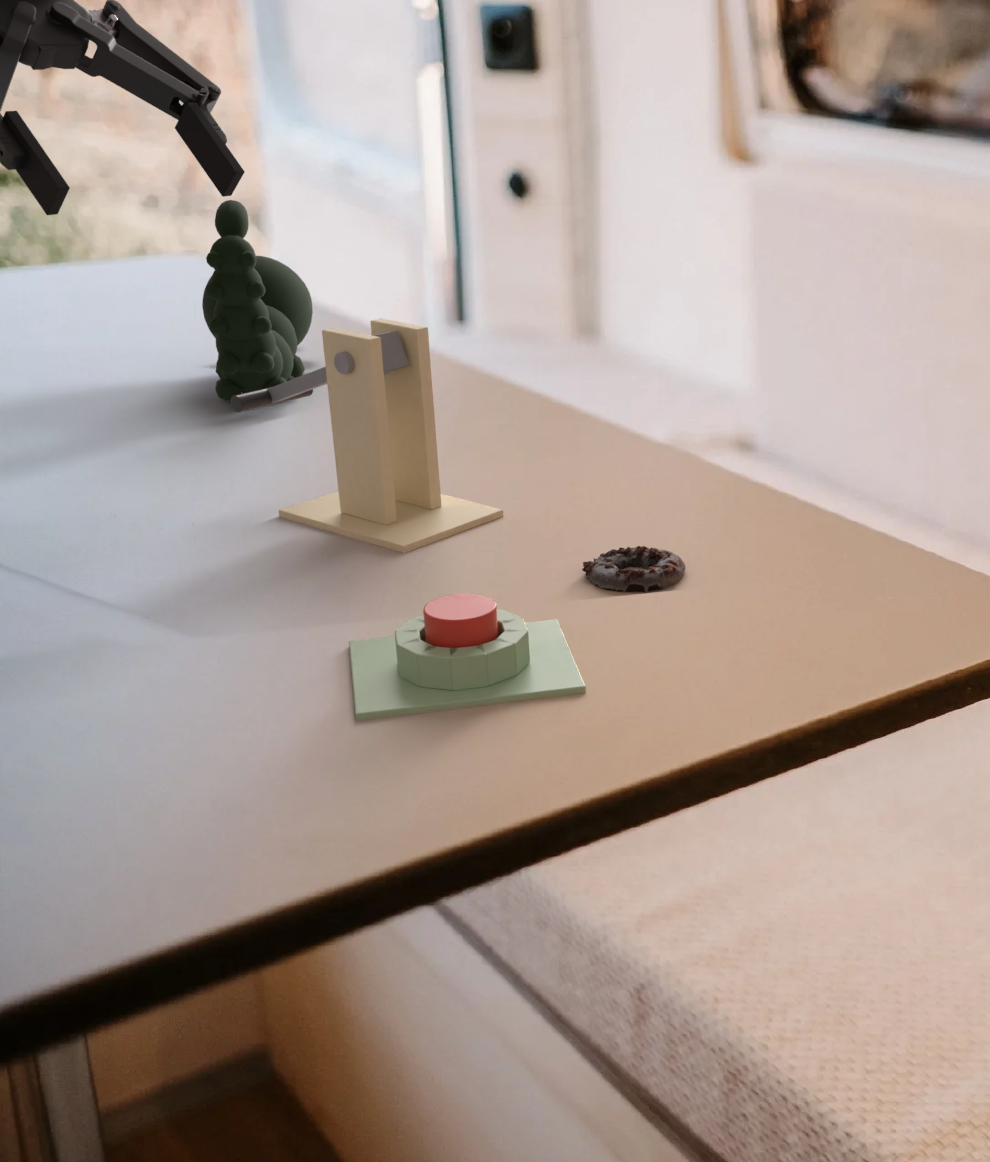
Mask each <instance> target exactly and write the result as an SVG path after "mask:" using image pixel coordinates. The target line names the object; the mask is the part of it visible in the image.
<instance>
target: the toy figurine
mask: <svg viewBox="0 0 990 1162" xmlns="http://www.w3.org/2000/svg"><path fill="white" fill-rule="evenodd" d="M214 227H215V229H216V232H217V234H218V235H219V237H220V238H218V239H216V240H215V242H213V244H212V245H211V247H210V249H209V252H208V253H207V255H206V257H205V260H206V263H207V264H208V266H209V267H210V268H213V269H214V271H213V272H212V275H211V276H210V277H209V279H208V280H207V283H206V285H205V287H204V290H203V294H202V304H201V306H202V307H201V308H202V313H203V319H204V321H205V323H206V326H207V328H208V331H210V333H211V334H212V336H213V337H214V339H215V348H216V352H217V354H218V355H217V360H216V362H215V363H216V366H215V373H216V374H217V376H218V378H219V379H218V380H217V381H216V384H215V389H214V391H215V392H216V395H217V397H218V398H219V399H220V400H223V401H224V402H231V398H232V396H235V395H239V394H243V393H248V392H252V391H257V390H261V389H265V388H270V387H274V386H277V385H279V384H282V383H284V382H287V381H289V380H292V379H295V378H297V377H300V376H302V375H304V372H305V370H306V369H305V365H304V363H303V361H302V359H301V357H300V356H298V355H296V354H297V351H298V346H299V345H300V344H301V343H302V342H304V339H305V338H306V336H307V334H308V332H309V331H310V327H311V325H312V320H313V312H314V311H313V310H314V309H313V300H312V296H311V292H310V289H309V288H308V286H307V284H306V283H305V281H304V280H303V279H302V278H301V277H300V275H299V274H297V273H296V271H294V270H293V269H292V268H291V267H289V266H287V265H286V264H285V263H283V262H281V261H279V260H276V259H274V258H271V257H268V256H263V255H257V254H256V252H255V249H254V247H253V246H252V245H251V243H250V242H249V241H247V240H246V239H245V237H246V236H247V233H248V231H249V214H248V211H247V208H246V207H245V205H243V204H242V202H240V201H238V200H234V199H229V200H225V201H223V202H222V203H220V205H219V206H218V207H217V209H216V213H215V217H214Z"/></svg>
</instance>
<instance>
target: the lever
mask: <svg viewBox="0 0 990 1162" xmlns="http://www.w3.org/2000/svg"><path fill="white" fill-rule="evenodd" d="M371 335H372V334H371ZM372 336H377V337H380V338H381V349H382V360H383V371H384V375H385V374H388V373H390V372H393V371H396V370H399V369H401V368H404V367H407V366H409V362H408V359H407V356H406V353H405V350H404V348H403V345H402V342H401V339H400V336H399V333H398V331H397V330H396V331H391V332H386V333H381V334H377V335H372ZM325 385H327V376H326V366H323V367H321V368H318V369H316V370H313V371H310V372H307V373H305V374H303V375H302V376H300V377H297V378H295V379H292V380H289V381H287V382H284V383H282V384H279V385H277V386H274V387H270V388H265V389H261V390H257V391H252V392H248V393H241V394H239V395H235V396H232V398H231V401H230V406H231V408H232V410H233V411H234V412H235V413H238V414H239V413H244V412H249V411H252V410H256V409H261V408H265V407H270V406H273V405H277V404H281V403H286V402H290V401H294V400H298V399H302V398H306V397H311V396H312V395H313V392H314V390H315V389H318V388H320V387H322V386H325Z"/></svg>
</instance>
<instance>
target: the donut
mask: <svg viewBox="0 0 990 1162" xmlns="http://www.w3.org/2000/svg"><path fill="white" fill-rule="evenodd" d="M628 568H629V569H628ZM635 568H641V569H635ZM581 571H582V572H584V573H585V576H586V577H587V579H588V580H589V581H590V582H592V584H593V585H594V586H595V587H598V588H600V589H603V590H606V591H607V590H612V591H614V592H620V593H649V592H655V591H661V590H666V589H668V588H670V587H672V586H674V585H677V584H678V583H679V582H680V581H682V579H683V578H684V576H685V571H686V563H685V562H684V560H683V559H682V558H681V557H680V556H679V555H678V554H676V553H674V552H673V551H670V550H667V549H659V548H656V547H652V546H651V547H650V548H649V547H647V546H645V545H642V546H640V545H637V546H635V547H630V546H627V547H626V548H625V547H619V548H618V549H611V550H608V551H607V552H606V553H604V552H603V553H600V554H599V556H598V557H597V558H594V557H593V561H592V560H589V561H583V562H582V569H581Z"/></svg>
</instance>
